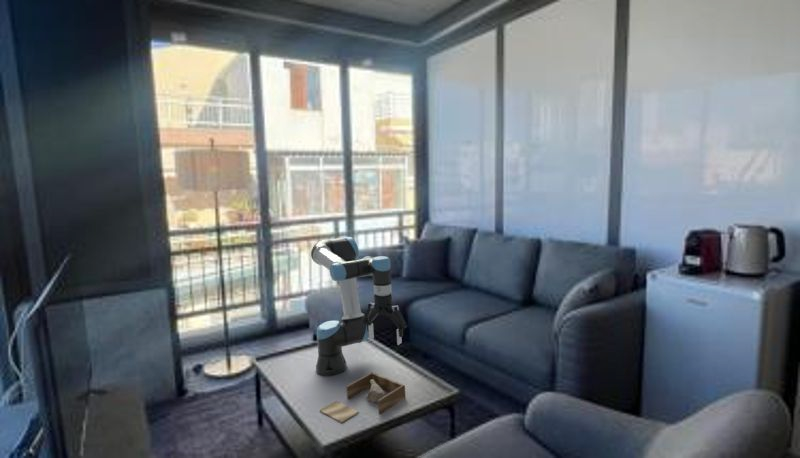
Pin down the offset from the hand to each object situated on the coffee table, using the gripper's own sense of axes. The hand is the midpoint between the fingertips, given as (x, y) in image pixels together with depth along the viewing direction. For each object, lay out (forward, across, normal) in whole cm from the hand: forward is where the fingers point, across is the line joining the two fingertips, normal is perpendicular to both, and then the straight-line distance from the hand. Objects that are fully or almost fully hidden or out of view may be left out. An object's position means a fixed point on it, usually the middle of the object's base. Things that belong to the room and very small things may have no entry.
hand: (385, 341), depth 189 cm
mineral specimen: (+25, -4, -4) cm, 26 cm away
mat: (+25, -13, -19) cm, 34 cm away
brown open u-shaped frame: (+25, -4, -5) cm, 26 cm away
